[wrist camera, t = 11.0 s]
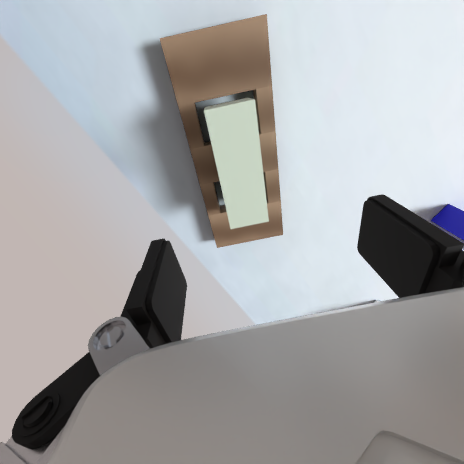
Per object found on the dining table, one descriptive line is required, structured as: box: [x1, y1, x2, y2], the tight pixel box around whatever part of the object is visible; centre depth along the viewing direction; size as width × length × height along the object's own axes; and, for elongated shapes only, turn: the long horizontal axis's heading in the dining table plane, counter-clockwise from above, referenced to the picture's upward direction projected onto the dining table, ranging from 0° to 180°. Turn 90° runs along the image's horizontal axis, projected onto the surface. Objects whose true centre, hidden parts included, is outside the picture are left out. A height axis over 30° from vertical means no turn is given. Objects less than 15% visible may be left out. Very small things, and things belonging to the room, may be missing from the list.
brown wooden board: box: [160, 14, 283, 248], centre depth 25 cm, size 22×9×2 cm, turn 10°
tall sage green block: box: [204, 98, 269, 229], centre depth 23 cm, size 11×4×7 cm, turn 11°
